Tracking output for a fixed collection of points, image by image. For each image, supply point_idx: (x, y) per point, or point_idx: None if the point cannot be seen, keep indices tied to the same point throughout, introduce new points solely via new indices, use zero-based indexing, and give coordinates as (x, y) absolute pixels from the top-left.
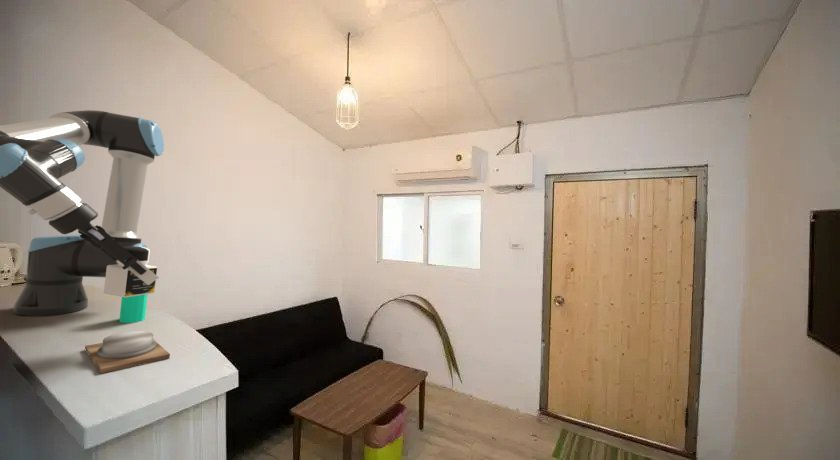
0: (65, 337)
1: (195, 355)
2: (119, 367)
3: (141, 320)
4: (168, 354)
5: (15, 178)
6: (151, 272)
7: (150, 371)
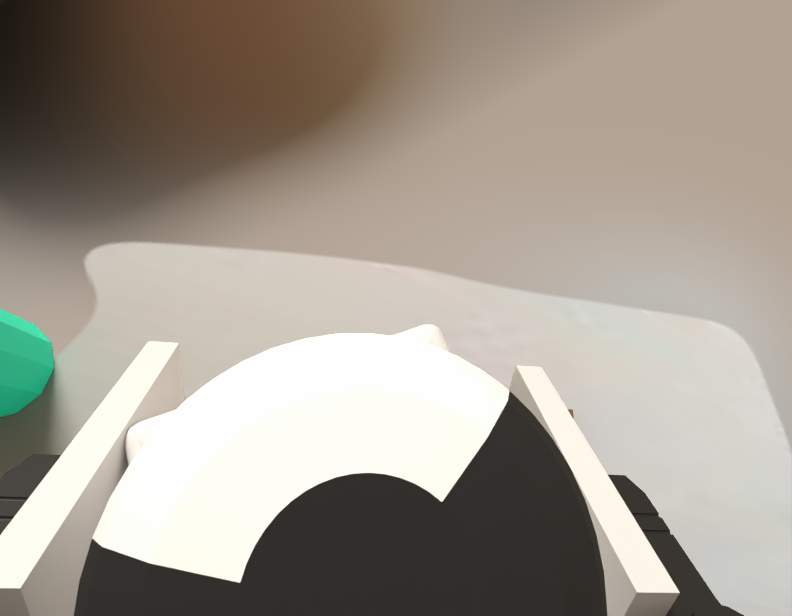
0: None
1: (584, 343)
2: None
3: (51, 343)
4: (571, 414)
5: None
6: (569, 422)
7: None
